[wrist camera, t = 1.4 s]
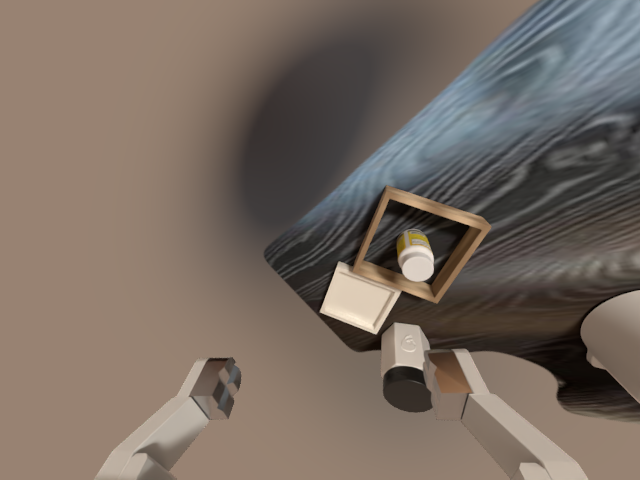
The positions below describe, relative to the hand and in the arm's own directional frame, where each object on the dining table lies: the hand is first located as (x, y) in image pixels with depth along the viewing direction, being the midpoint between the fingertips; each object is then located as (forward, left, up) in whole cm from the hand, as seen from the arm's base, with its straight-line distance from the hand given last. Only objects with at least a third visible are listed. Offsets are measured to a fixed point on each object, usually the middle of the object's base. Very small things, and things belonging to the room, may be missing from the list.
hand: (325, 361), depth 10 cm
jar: (-17, +27, -31) cm, 45 cm away
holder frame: (-10, +7, -31) cm, 33 cm away
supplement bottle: (-10, +7, -31) cm, 33 cm away
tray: (-6, +21, -31) cm, 38 cm away
